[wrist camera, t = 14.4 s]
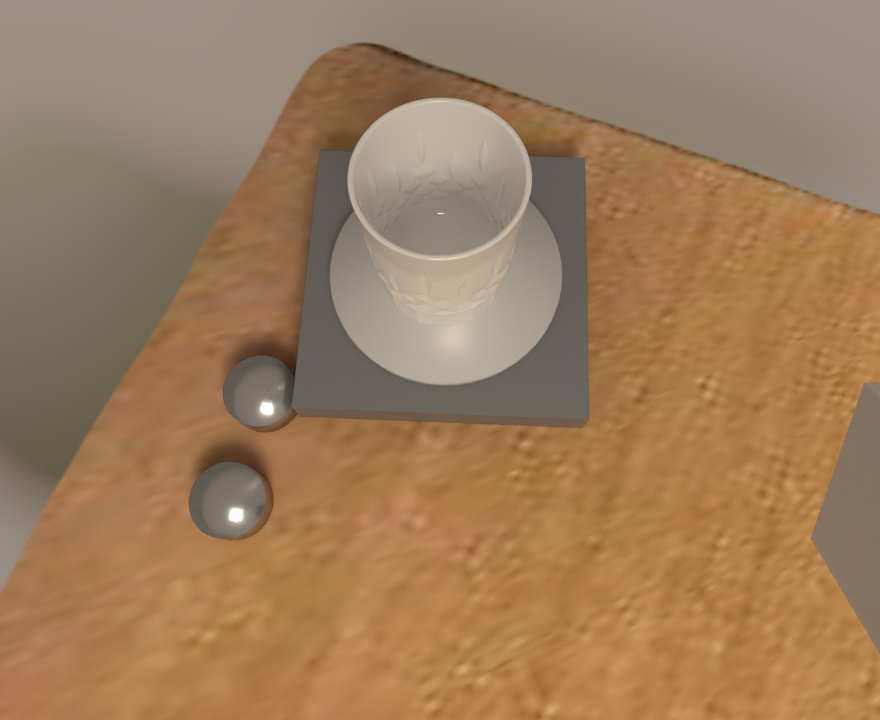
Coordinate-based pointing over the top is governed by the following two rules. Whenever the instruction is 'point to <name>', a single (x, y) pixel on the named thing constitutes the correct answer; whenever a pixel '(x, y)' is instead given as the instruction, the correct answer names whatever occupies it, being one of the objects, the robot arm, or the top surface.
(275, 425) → the cylinder
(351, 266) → the scale
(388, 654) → the top surface
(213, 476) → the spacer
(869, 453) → the robot arm
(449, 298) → the white cup
